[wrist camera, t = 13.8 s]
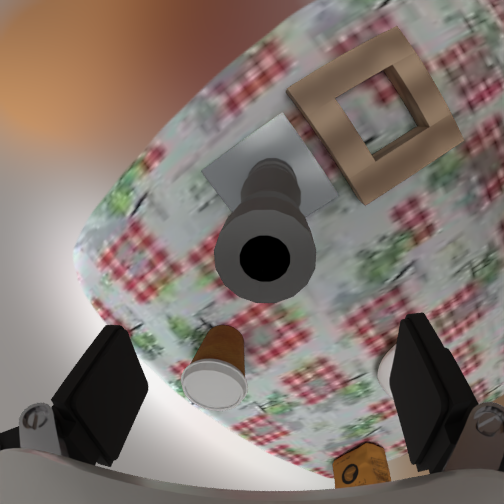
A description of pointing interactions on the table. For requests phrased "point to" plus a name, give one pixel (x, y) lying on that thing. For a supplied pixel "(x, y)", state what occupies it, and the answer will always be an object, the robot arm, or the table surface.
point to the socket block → (345, 135)
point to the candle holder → (266, 237)
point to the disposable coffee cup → (217, 371)
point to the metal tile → (271, 146)
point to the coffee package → (361, 467)
